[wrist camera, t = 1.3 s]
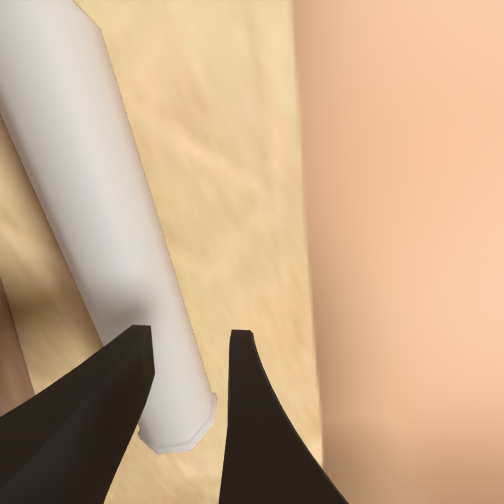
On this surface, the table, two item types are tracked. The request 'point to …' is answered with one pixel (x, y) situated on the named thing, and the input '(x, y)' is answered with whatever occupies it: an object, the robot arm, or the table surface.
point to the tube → (100, 202)
